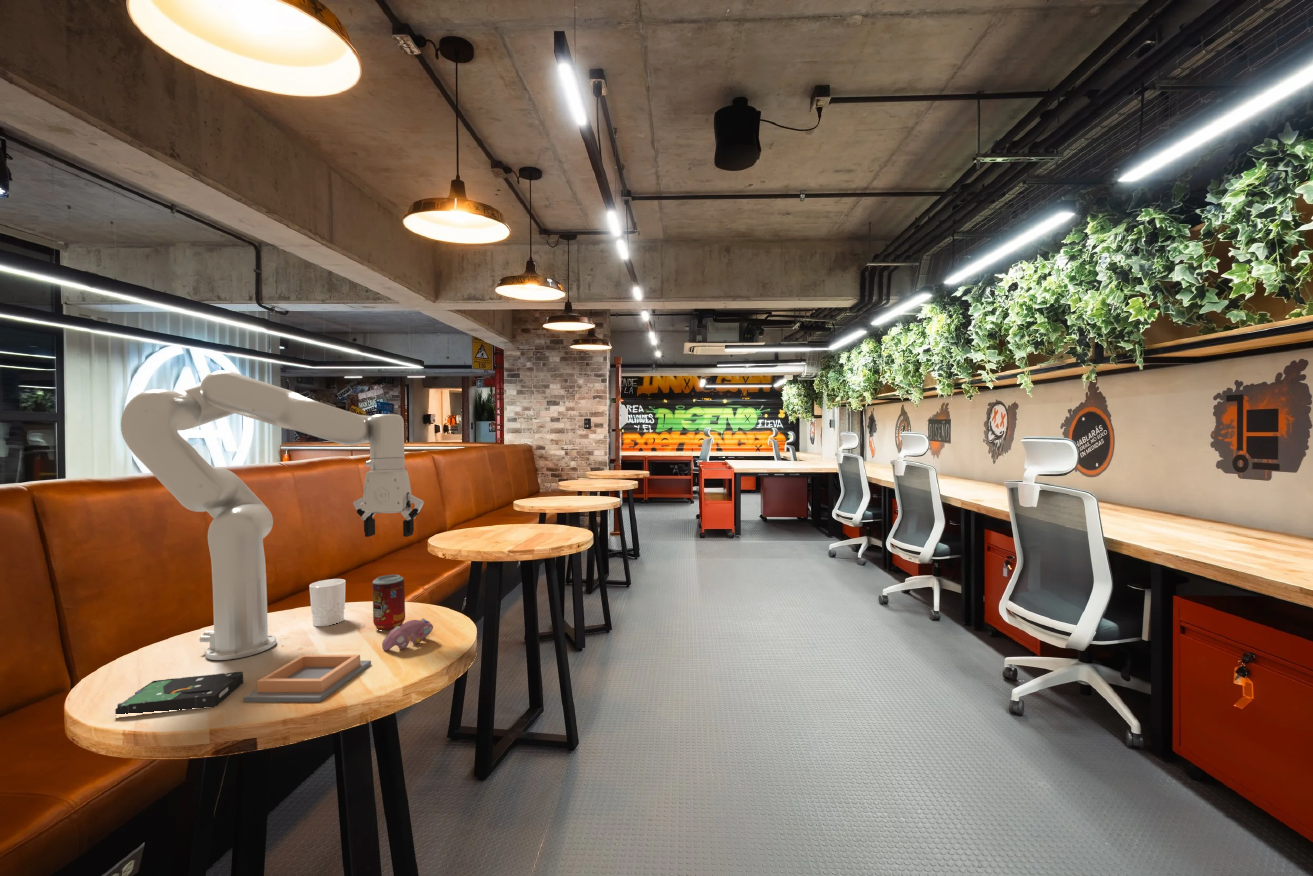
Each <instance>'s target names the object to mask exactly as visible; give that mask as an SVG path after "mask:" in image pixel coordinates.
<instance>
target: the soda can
mask: <svg viewBox="0 0 1313 876" xmlns="http://www.w3.org/2000/svg"><path fill="white" fill-rule="evenodd" d="M371 587H372V614H373V615H372V618H373V620H372V622H373V625H374V626H375V628H376V630H377V629H378V630H382V631H381V632H387V631H386V630H393V629H394V628H395V627H396V626H401V625H402V624H404V623H405V622H404V621H405V620H406V601H405V599H406V596H405V595H406V594H405V578H404V577H403V576H401V575H400V574H386V575H381V576H378V577H376V578H375V579H373V581H372V584H371ZM378 630H377V631H378Z"/></svg>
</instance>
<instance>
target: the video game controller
mask: <svg viewBox="0 0 1313 876" xmlns="http://www.w3.org/2000/svg"><path fill="white" fill-rule="evenodd" d="M433 628H434V625H433V623H431V622H430V621H429V620H426V619H425V618H421V620H419V619H412V620H408V621H406V622H403V624H402V625H401V626H396V627H395V628H394V629H393V630H392V631H389V632H388V634H387V636H386V637H384V639H383V640H382V643H381V646H382V650H383V651H390V650H391V649H392V648H393V647H395V646H397V647H398V649H399V650H403V649H402V648H404V649H406V648H407V647H408V645H409V644H410V641H411V643H412V645H414V644H416V645H418V644H417V643H419V644H420V643H421V642H422V641H423V640H424V639H425V638H426V637H427V636H428V635H430V634H431V633H432V631H433ZM408 637H409V638H410V641H409V639H408ZM405 647H406V648H405Z"/></svg>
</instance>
